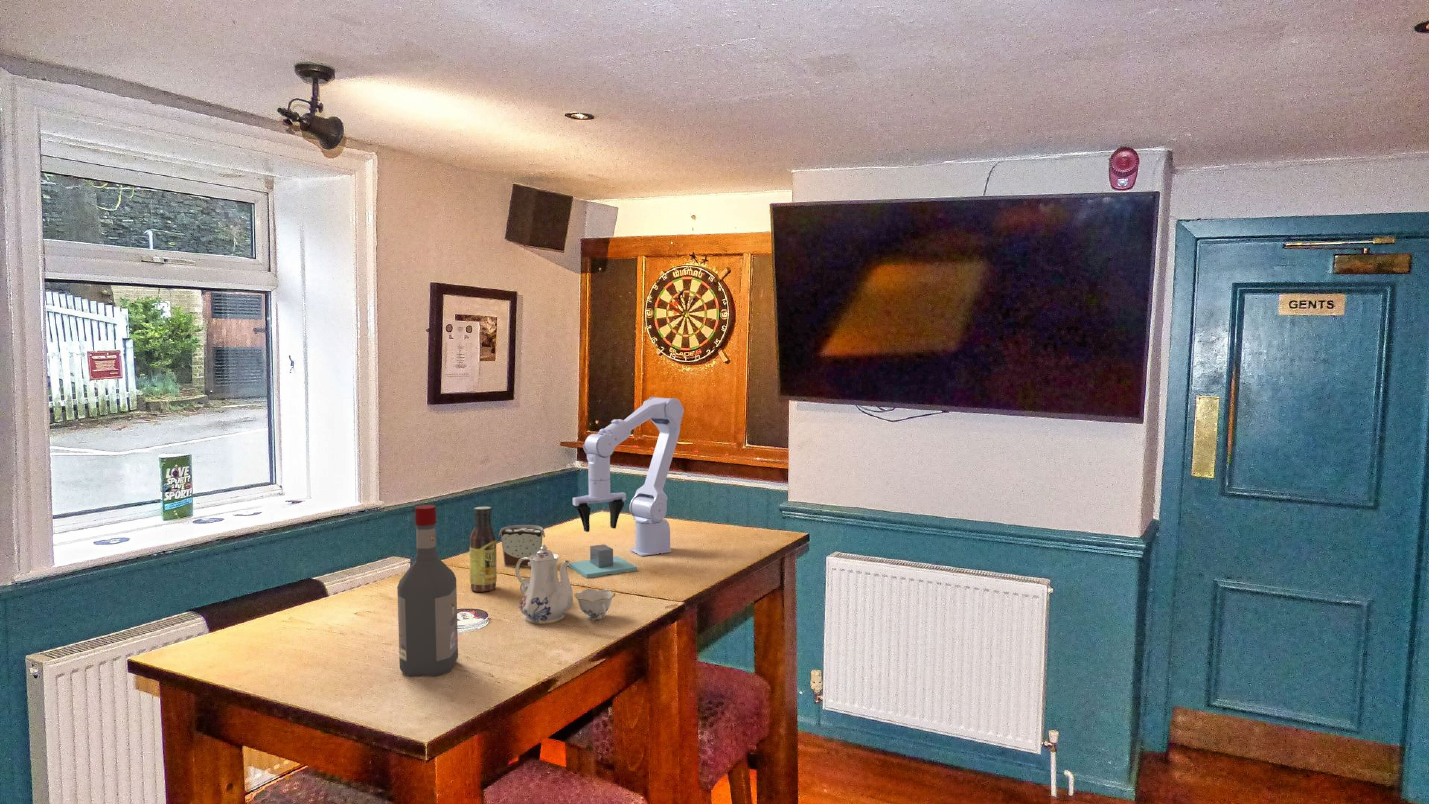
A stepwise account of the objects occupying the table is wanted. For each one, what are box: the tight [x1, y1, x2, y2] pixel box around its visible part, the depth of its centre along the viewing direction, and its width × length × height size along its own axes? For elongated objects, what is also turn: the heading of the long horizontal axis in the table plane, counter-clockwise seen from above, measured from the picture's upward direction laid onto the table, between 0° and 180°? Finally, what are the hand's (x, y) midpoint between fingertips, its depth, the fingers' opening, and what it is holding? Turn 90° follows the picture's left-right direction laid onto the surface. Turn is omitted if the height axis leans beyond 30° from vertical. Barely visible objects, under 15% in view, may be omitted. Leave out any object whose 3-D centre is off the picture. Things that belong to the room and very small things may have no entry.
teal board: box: [567, 555, 638, 579], centre depth 229 cm, size 14×13×1 cm
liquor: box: [397, 504, 459, 678], centre depth 160 cm, size 9×9×30 cm
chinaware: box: [514, 543, 616, 625], centre depth 192 cm, size 28×17×17 cm, turn 59°
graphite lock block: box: [589, 543, 614, 568], centre depth 229 cm, size 4×6×4 cm, turn 29°
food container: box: [498, 524, 546, 568], centre depth 234 cm, size 12×6×10 cm, turn 84°
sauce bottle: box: [469, 506, 498, 593], centre depth 210 cm, size 7×6×20 cm
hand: (600, 529), depth 233 cm, fingers open, 7 cm apart
